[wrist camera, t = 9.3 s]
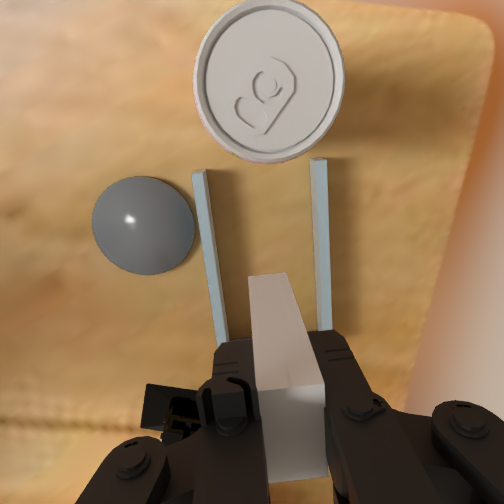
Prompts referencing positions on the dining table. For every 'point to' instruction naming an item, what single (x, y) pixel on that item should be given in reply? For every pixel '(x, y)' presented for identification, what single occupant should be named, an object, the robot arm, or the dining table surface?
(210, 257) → the channel
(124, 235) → the grey round disc
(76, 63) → the dining table surface
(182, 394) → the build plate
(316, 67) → the beverage can
